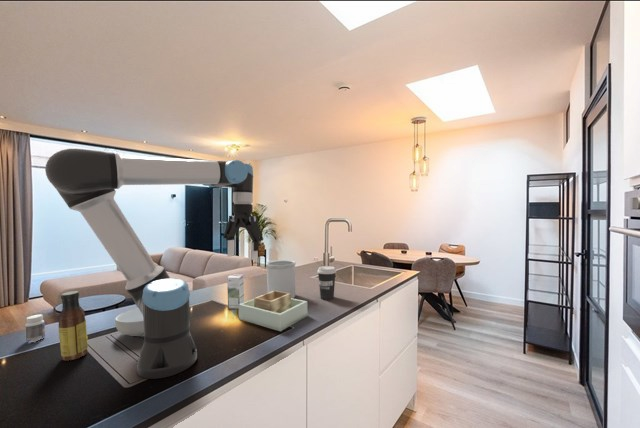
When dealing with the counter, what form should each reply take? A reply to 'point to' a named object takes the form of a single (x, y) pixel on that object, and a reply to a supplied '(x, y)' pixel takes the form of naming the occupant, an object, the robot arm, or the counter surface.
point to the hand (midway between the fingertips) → (242, 257)
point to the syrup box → (235, 291)
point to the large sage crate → (273, 314)
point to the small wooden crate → (274, 301)
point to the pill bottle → (35, 328)
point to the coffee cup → (326, 282)
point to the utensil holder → (281, 276)
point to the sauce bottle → (72, 327)
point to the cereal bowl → (130, 323)
